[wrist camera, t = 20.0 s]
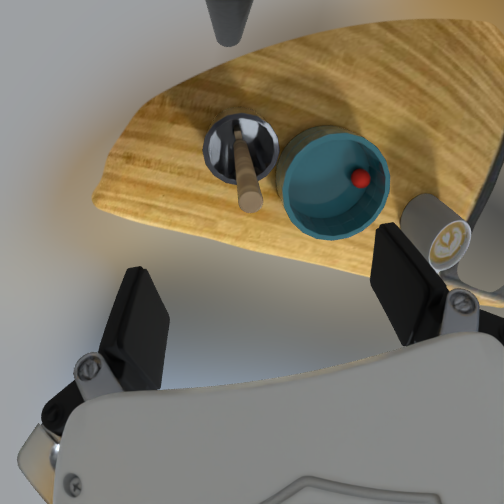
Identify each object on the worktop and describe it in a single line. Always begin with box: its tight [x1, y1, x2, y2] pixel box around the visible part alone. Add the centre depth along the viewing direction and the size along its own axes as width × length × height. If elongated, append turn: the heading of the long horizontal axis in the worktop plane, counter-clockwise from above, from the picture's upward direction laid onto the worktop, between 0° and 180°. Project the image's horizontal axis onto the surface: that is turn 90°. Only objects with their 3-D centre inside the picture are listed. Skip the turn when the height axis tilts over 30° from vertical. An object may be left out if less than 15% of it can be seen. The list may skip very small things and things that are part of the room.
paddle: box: [233, 125, 263, 213], centre depth 27 cm, size 4×2×22 cm, turn 9°
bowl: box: [276, 125, 390, 241], centre depth 38 cm, size 16×16×6 cm
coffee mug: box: [400, 194, 471, 273], centre depth 43 cm, size 13×10×10 cm
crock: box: [203, 107, 280, 185], centre depth 33 cm, size 8×8×9 cm
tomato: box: [351, 169, 370, 188], centre depth 39 cm, size 3×3×3 cm
